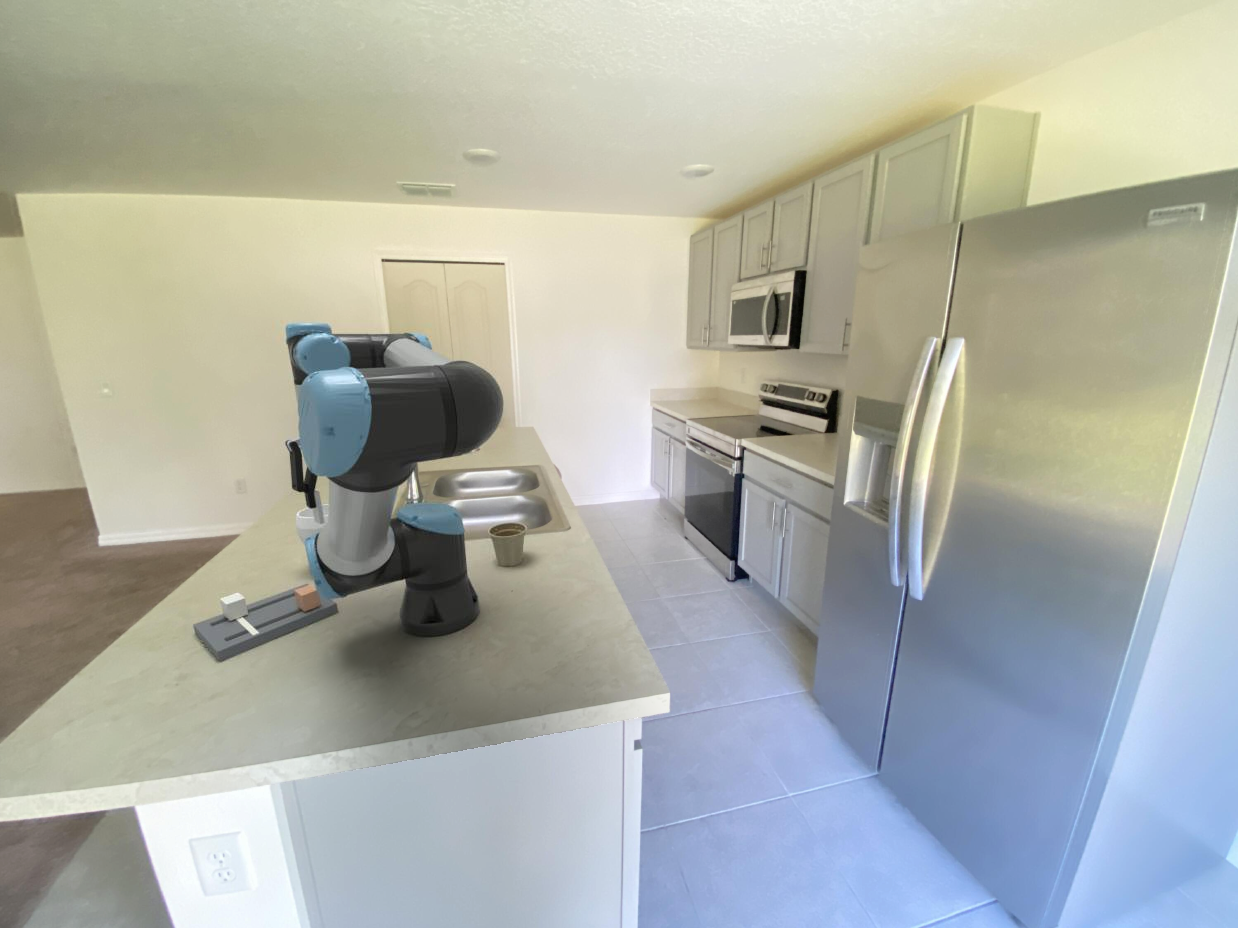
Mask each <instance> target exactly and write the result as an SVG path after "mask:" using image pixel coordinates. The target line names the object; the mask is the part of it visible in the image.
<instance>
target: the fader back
mask: <svg viewBox="0 0 1238 928" xmlns="http://www.w3.org/2000/svg"><path fill="white" fill-rule="evenodd" d="M219 601H220V604H221V605H220V607H221V610H222V614H223V615H224V616H225V617H226V618H227V619H228V620H229V621H231V620H234V619H237V618H239V617H242V616H245V615H247V614H248V610H247V606H246V605H247V602H246V597H244V596H243V595H242V594H241V593H239V592H236V593H232V594H230V595H227V596H224V597H221V598H219Z"/></svg>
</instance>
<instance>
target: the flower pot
mask: <svg viewBox="0 0 1238 928" xmlns="http://www.w3.org/2000/svg"><path fill="white" fill-rule="evenodd" d="M527 530H528V527H527V526H526V525H525V524H523V523H520V522H502V523H498V524H495V525H492V526H491V527H489V529H487V533H488V536H489V537H490V539H491V542H492V546H493V550H494V554H495V558H496V563H497V564H498V565H500V566H502V567H507V566H511V567H513V566H516V565H518V564H521V562H522V561H523V558H524V557H523V556H524V555H523V554H524V544H525V543H524V542H525V541H524V540H525V536H526V532H527Z"/></svg>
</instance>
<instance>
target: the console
mask: <svg viewBox="0 0 1238 928" xmlns="http://www.w3.org/2000/svg"><path fill="white" fill-rule="evenodd" d="M308 585H310V584H309V583H305V584H302V585H300V586H296V587H294V588H290V589H289V590H286V591H283V592H280V593H277V594H274V595H271V596H269V597H265V598H263V599H260V600H258V601H255V602H252V603H249V604H246V606H247V610H248V614H247V615H245V616H242V617H239V618H237V619H234V620H231V621H229V620H228V619H227V618H226V617H225V616H224V615H223V613H221V614H218V615H216V616H212V617H211V618H208V619H205V620H202V621H199V622H196V623H194V624H192V626H193V631H194V634H195V635H196V636H197V638H199V640H200V641H201V642H202V644H203V645H204V646H205V647H206V648H207V649H208V650H209V652H211V654H212V655H213V657H215V658H216V659H217V661H218V662H219V663H221V662H222V661H225V660H227V659H229V658H232V657H235V656H237V655H239V654H242V653H244V652H246V651H248V650H251V649H253V648H256V647H259V646H261V645H263V644H265V643H268V642H270V641H273V640H275V639H277V638H280V637H283V636H284V635H287V634H290V633H292V632H295V631H297V630H298V629H301V628H303V627H306V626H308V625H311V624H313V623H315V622H318V621H320V620H323V619H326V618H328V617H331V616H333V615H334V614H337V613H339V609H338V603H337V602H336V601H334V600H333V599H331V600H325V599H322V598H321V597H320V596H319V597H320V603H321V606H318V607H316V608H313V609H311V610H308V611H306V612H304V611H303V610H302V609H300V608H299V607H298V606H297V603H296V598H295V592H294V590H297V589H299V588H302V587H305V586H308Z"/></svg>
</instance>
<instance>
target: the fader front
mask: <svg viewBox="0 0 1238 928" xmlns="http://www.w3.org/2000/svg"><path fill="white" fill-rule="evenodd" d="M294 592H295V598H296V603H297V606H298V607H299V608H300V609H302V610H303V611H304V612H306V611H308V610H311V609H313V608H316V607H318V606H321V603H320V597H319V594H318V592H317V590H316V587H315V586H313V585H312V584H309V585H308V586H305V587H302V588H299V589H297V590H294Z"/></svg>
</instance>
